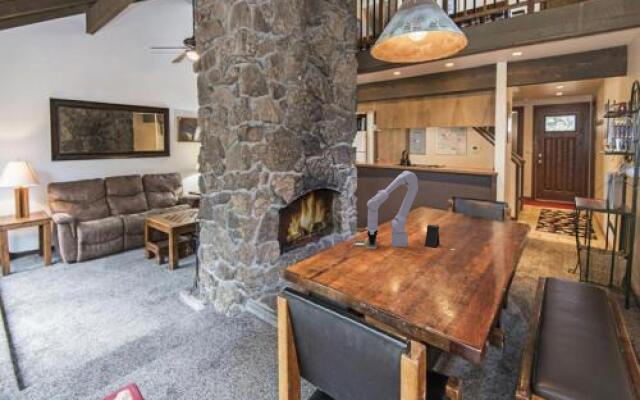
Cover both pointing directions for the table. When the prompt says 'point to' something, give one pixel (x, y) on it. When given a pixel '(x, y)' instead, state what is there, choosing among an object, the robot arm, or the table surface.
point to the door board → (363, 244)
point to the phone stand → (432, 236)
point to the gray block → (374, 243)
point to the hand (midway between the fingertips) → (372, 243)
